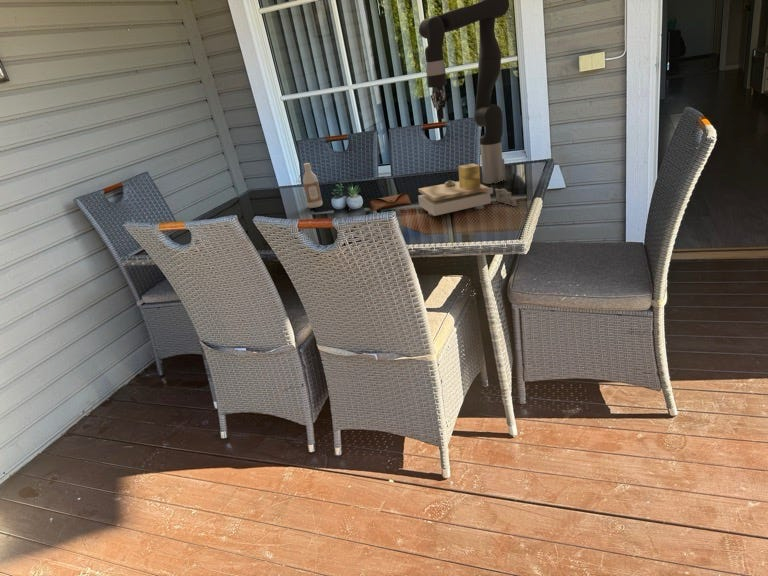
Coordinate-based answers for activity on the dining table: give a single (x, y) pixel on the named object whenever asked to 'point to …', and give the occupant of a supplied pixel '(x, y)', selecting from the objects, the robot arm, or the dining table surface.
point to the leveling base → (455, 202)
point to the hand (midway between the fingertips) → (440, 118)
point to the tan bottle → (311, 187)
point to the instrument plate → (457, 184)
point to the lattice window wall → (506, 195)
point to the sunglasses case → (389, 202)
